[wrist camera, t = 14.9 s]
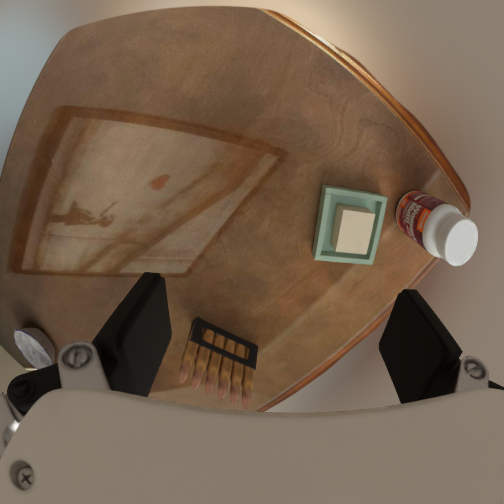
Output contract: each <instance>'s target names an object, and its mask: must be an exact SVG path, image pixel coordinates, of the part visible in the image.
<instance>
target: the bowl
mask: <svg viewBox="0 0 504 504" xmlns="http://www.w3.org/2000/svg"><path fill="white" fill-rule="evenodd" d="M14 340H15V343H16V344H17V346H18V348H19V349H20V351H21V352H22V354H23V355H24V356H25V358H26V359H27V360H28V361H29V362H30V363H31V364H32V365H33V366H34V367H35V368H37V369H41V368H44V367H47V366H50V365H53V364H54V353H55V352H54V347H53V344H52V343H51V341H50V340H49V338H48V337H47V336H46V335H45V334H44V333H43V332H42V331H40V330H39V329H37V328H24V329H16V330H15V331H14Z"/></svg>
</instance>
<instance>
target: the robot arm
mask: <svg viewBox="0 0 504 504" xmlns="http://www.w3.org/2000/svg"><path fill="white" fill-rule="evenodd" d="M171 335H172V331H171V324H170V317H169V310H168V302H167V294H166V285H165V279H164V278H163V277H161V276H160V274H159V273H151V272H145V273H144V274H143V275H142V276H141V278H140V279H139V280H138V281H137V283H136V284H135V285H134V286H133V288H132V289H131V290H130V292H129V293H128V294H127V296H126V297H125V298H124V299H123V301H122V302H121V303H120V304H119V306H118V307H117V308H116V310H115V311H114V312H113V314H112V315H111V316H110V318H109V319H108V320H107V322H106V323H105V325H104V326H103V327H102V329H101V330H100V332H99V333H98V334H97V336H96V337H95V339H94V340H93V342H92V343H90V342H87V341H74V342H71V343H69V344H67V345H66V346H64V347H63V348H62V349H61V351H60V352H59V355H58V363H56V364H53V365H50V366H47V367H44V368H41V369H38V370H35V371H31V372H29V373H25V374H22V375H19V376H17V377H15V378H14V379H13V380H12V381H11V382H10V384H9V386H8V389H7V394H6V395H4V393H3V392H2V393H1V394H0V504H504V387H502V386H500V385H498V384H496V383H494V382H492V381H490V380H489V373H488V369H487V367H486V365H485V364H484V363H483V362H482V361H481V360H480V359H478V358H476V357H473V356H466V357H464V358H463V359H462V360H461V361H460V359H459V357H460V355H461V353H462V350H461V349H460V347H459V346H458V344H457V343H456V341H455V340H454V338H453V337H452V336H451V334H450V333H449V331H448V330H447V329H446V327H445V326H444V325H443V323H442V322H441V321H440V319H439V318H438V317H437V315H436V314H435V313H434V311H433V310H432V309H431V308H430V306H429V305H428V304H427V302H426V301H425V300H424V299H423V297H422V296H421V295H420V294H419V292H418V291H417V290H414V289H404V290H402V292H401V293H399V294H398V296H397V298H396V301H395V304H394V307H393V309H392V312H391V315H390V318H389V320H388V323H387V325H386V328H385V330H384V333H383V335H382V337H381V340H380V342H379V351H380V353H381V355H382V358H383V360H384V362H385V365H386V367H387V369H388V372H389V374H390V377H391V379H392V382H393V384H394V387H395V389H396V392H397V394H398V397H399V400H400V402H401V404H398V405H392V406H385V407H377V408H369V409H360V410H350V411H336V412H317V413H273V412H270V413H269V412H251V411H237V410H226V409H217V408H208V407H201V406H194V405H187V404H181V403H175V402H169V401H163V400H158V399H153V398H148V395H149V392H150V389H151V387H152V384H153V382H154V379H155V377H156V374H157V372H158V369H159V367H160V364H161V362H162V359H163V357H164V354H165V352H166V350H167V347H168V345H169V342H170V340H171Z"/></svg>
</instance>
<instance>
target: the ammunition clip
mask: <svg viewBox="0 0 504 504" xmlns="http://www.w3.org/2000/svg"><path fill="white" fill-rule="evenodd" d="M212 343H213V344H212ZM199 345H200V346H199ZM210 351H211V353H210ZM257 352H258V346H257V345H254V344H252V343H250V342H248V341H245V340H243V339H241V338H239V337H237V336H235V335H233V334H230V333H228V332H226V331H224V330H222V329H220V328H218V327H216V326H214V325H212V324H210V323H208V322H206V321H204V320H202V319H200V318H198V317H196V319H195V320H194V322H193V324H192V326H191V330H190V333H189V337H188V340H187V344H186V348H185V351H184V354H183V357H182V364H181V368H180V372H179V382H180V384H182V383H183V382H184V381H185V379H186V378H187V376H188V374H189V371H190V368H191V366H192V364H193V362H194V360H195V357H196V353H197V357H196V360H195V368H194V374H193V379H192V386H193V389H194V390H195V389H196V388H197V387H198V386H199V384H200V382H201V379H202V376H203V373H204V370H205V368H206V366H207V363H208V366H207V376H206V384H205V389H206V394H207V395H209V394H210V393H211V391H212V390H213V387H214V384H215V380H216V377H217V374H218V372H219V384H218V396H219V399H220V400H222V399H223V398H224V396H225V393H226V391H227V386H228V382H229V379H230V381H231V386H230V388H231V389H230V399H231V403H232V405H234V404H235V403H236V401H237V399H238V396H239V390H240V385H241V382H242V403H243V407H244V409H247V407H248V405H249V403H250V399H251V392H252V387H253V381H254V370H255V369H256V361H257ZM208 359H209V361H208ZM219 368H220V369H219Z"/></svg>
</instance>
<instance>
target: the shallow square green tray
mask: <svg viewBox="0 0 504 504" xmlns="http://www.w3.org/2000/svg"><path fill="white" fill-rule="evenodd" d="M387 199H388V197H386V196H384V195H382V194H379V193H374V192H368V191H362V190H356V189H350V188H344V187H337V186H330V185H322V192H321V199H320V206H319V212H318V219H317V225H316V231H315V237H314V243H313V249H312V255H313V257H314V260H323V261H334V262H345V263H356V264H368V265H373V261H374V257H375V253H376V249H377V245H378V241H379V237H380V232H381V228H382V223H383V219H384V214H385V209H386V204H387ZM337 204H345V205H352V206H358V207H365V208H368V209H369V210H370V211H372V212H373V213H374V214H375V219H374V223H373V228H372V233H371V237H370V242H369V246H368V250H367V254H356V253H346V252H336V251H335V250H334V248H333V246H332V245H331V243H330V239H331V234H332V228H333V223H334V217H335V211H336V205H337Z"/></svg>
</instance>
